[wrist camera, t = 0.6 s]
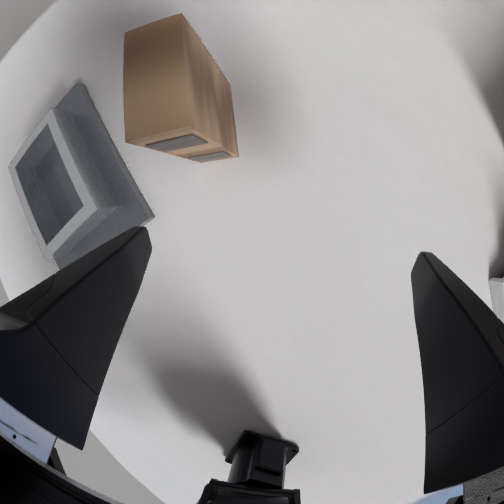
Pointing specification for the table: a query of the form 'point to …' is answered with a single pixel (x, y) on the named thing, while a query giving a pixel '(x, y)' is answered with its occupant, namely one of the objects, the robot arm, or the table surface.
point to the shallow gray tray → (75, 182)
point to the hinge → (497, 296)
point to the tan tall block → (176, 93)
